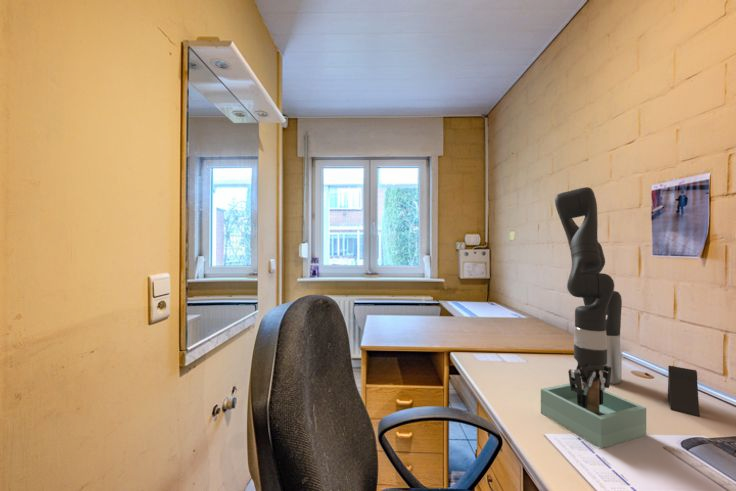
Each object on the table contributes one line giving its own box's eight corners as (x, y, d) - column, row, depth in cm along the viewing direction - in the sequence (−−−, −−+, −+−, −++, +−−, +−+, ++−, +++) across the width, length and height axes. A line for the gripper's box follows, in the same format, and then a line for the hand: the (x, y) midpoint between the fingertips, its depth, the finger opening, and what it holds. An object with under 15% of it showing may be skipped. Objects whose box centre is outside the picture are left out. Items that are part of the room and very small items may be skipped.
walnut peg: (588, 417, 87) (588, 375, 87) (603, 425, 84) (602, 381, 84) (578, 420, 86) (578, 377, 86) (592, 428, 82) (592, 383, 82)
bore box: (581, 403, 96) (581, 381, 96) (646, 434, 79) (646, 407, 80) (540, 412, 90) (540, 388, 90) (601, 448, 74) (601, 419, 74)
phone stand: (699, 417, 88) (699, 375, 88) (670, 409, 92) (670, 370, 92) (694, 405, 95) (694, 366, 95) (667, 398, 99) (667, 361, 99)
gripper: (594, 338, 91) (594, 395, 91) (558, 342, 86) (558, 403, 86) (622, 345, 84) (622, 407, 84) (585, 351, 79) (585, 416, 79)
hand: (590, 405), depth 85 cm, fingers open, 5 cm apart
